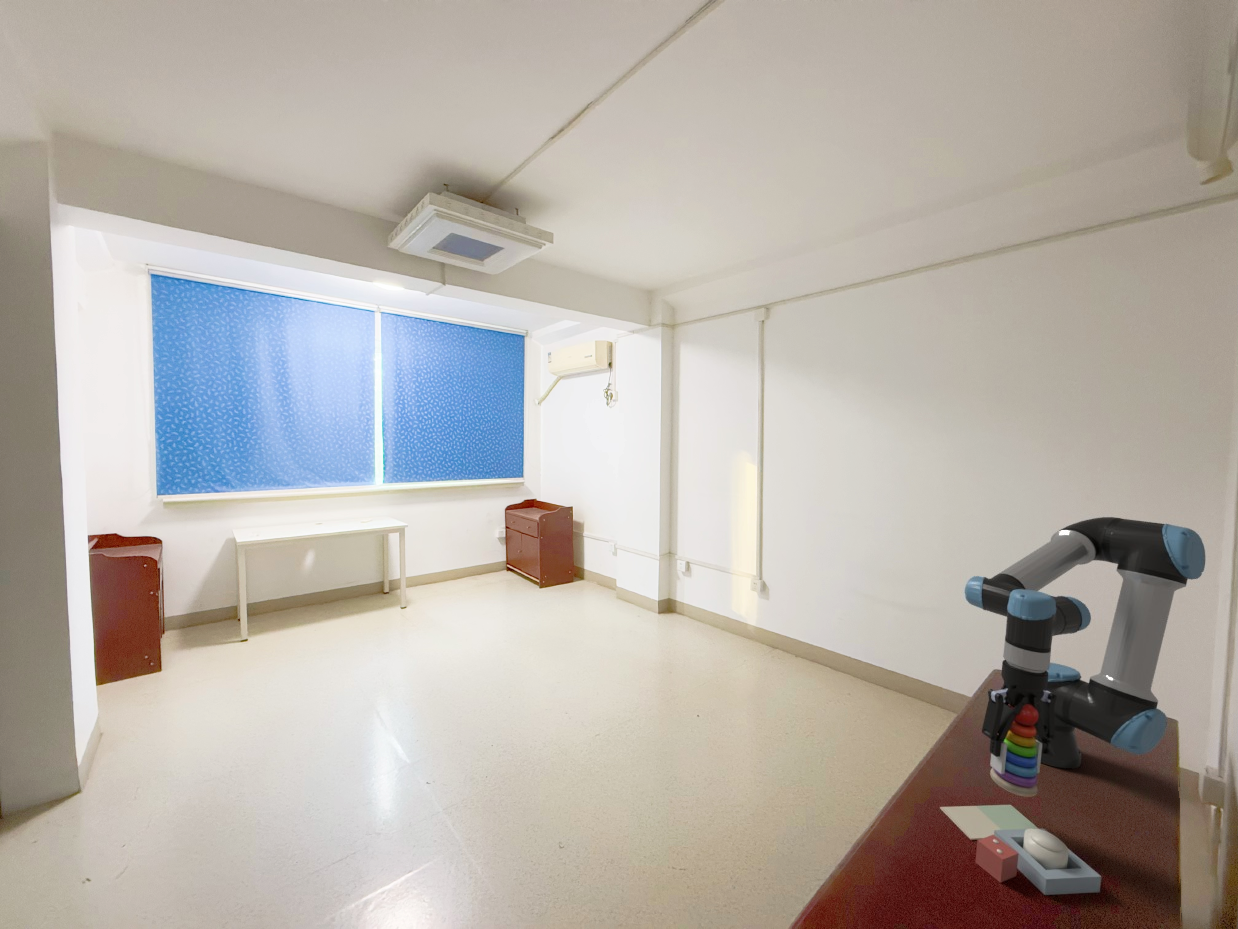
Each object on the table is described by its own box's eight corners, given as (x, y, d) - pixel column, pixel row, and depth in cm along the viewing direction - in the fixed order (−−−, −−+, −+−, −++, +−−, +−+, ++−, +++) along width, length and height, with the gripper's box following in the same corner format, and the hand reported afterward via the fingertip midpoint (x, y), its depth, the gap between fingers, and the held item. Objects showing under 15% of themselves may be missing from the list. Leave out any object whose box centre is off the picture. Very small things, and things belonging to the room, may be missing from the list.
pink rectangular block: (991, 856, 97) (993, 834, 97) (1016, 876, 93) (1018, 852, 92) (975, 862, 95) (977, 839, 95) (1000, 882, 91) (1002, 859, 91)
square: (975, 807, 110) (975, 805, 110) (1009, 838, 102) (1009, 837, 102) (939, 808, 109) (940, 807, 109) (970, 840, 101) (970, 838, 101)
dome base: (1042, 842, 101) (1043, 828, 101) (1099, 892, 90) (1101, 876, 90) (992, 844, 100) (994, 830, 100) (1044, 895, 89) (1046, 879, 89)
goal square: (1010, 806, 111) (1010, 804, 111) (1046, 837, 102) (1046, 835, 102) (975, 807, 110) (975, 805, 110) (1009, 838, 102) (1009, 837, 102)
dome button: (1043, 847, 98) (1045, 825, 98) (1075, 875, 92) (1078, 852, 92) (1013, 848, 98) (1016, 826, 98) (1044, 877, 91) (1047, 853, 91)
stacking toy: (1023, 803, 100) (1032, 714, 99) (981, 777, 108) (989, 694, 107) (1045, 793, 104) (1054, 707, 102) (1003, 769, 111) (1011, 688, 110)
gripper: (1051, 657, 109) (1041, 757, 110) (966, 656, 107) (956, 758, 108) (1087, 673, 101) (1075, 780, 103) (996, 673, 99) (985, 782, 101)
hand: (1014, 769), depth 105 cm, fingers closed on stacking toy, 7 cm apart
